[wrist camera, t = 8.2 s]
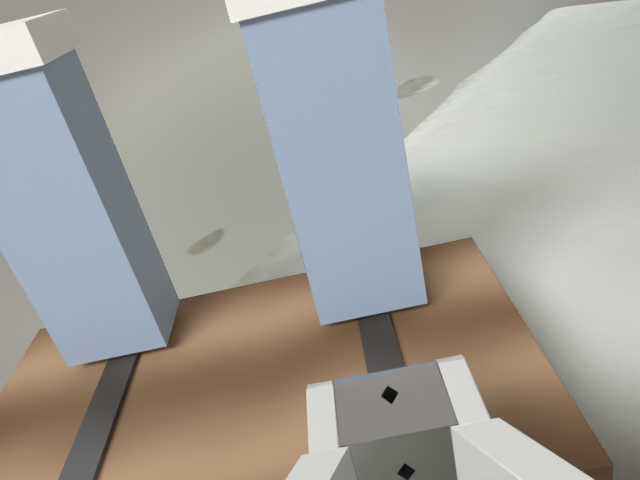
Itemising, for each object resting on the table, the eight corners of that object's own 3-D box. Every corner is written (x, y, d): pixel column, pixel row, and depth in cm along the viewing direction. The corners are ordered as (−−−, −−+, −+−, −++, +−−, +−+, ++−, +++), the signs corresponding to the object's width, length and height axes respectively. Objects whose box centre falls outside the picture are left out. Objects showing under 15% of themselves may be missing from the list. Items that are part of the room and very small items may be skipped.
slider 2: (434, 305, 20) (382, -66, 14) (315, 330, 20) (218, -25, 14) (415, 257, 23) (365, -65, 17) (311, 279, 23) (229, -32, 17)
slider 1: (170, 348, 21) (24, 21, 15) (61, 371, 21) (-124, 57, 16) (184, 297, 24) (66, 7, 18) (88, 318, 24) (-59, 38, 19)
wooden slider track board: (607, 557, 16) (613, 459, 14) (-54, 676, 17) (-137, 602, 15) (475, 305, 27) (468, 230, 25) (78, 387, 28) (40, 321, 26)
